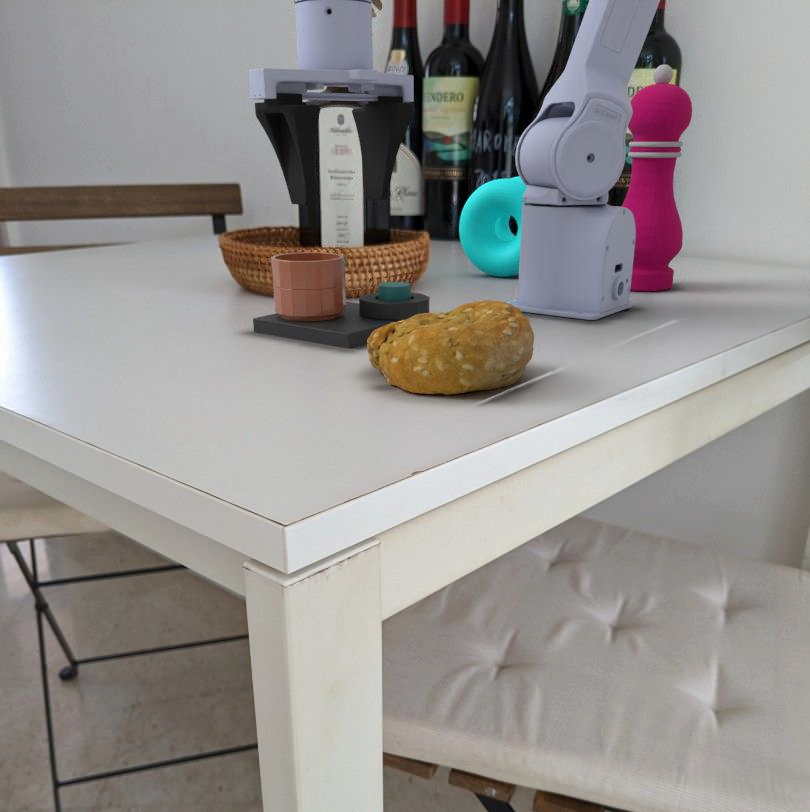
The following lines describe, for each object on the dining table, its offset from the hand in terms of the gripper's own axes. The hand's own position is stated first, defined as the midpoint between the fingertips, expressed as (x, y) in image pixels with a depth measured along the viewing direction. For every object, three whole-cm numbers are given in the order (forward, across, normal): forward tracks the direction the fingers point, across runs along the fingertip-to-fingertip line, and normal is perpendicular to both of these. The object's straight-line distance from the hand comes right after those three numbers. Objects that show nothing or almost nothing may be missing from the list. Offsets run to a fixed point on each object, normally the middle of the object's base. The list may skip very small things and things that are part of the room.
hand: (340, 201), depth 69 cm
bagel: (+10, -8, -20) cm, 24 cm away
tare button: (+7, 0, -6) cm, 9 cm away
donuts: (+10, +31, +8) cm, 33 cm away
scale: (+9, -3, -4) cm, 10 cm away
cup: (+8, -5, -2) cm, 10 cm away
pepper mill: (+10, +33, -8) cm, 35 cm away
